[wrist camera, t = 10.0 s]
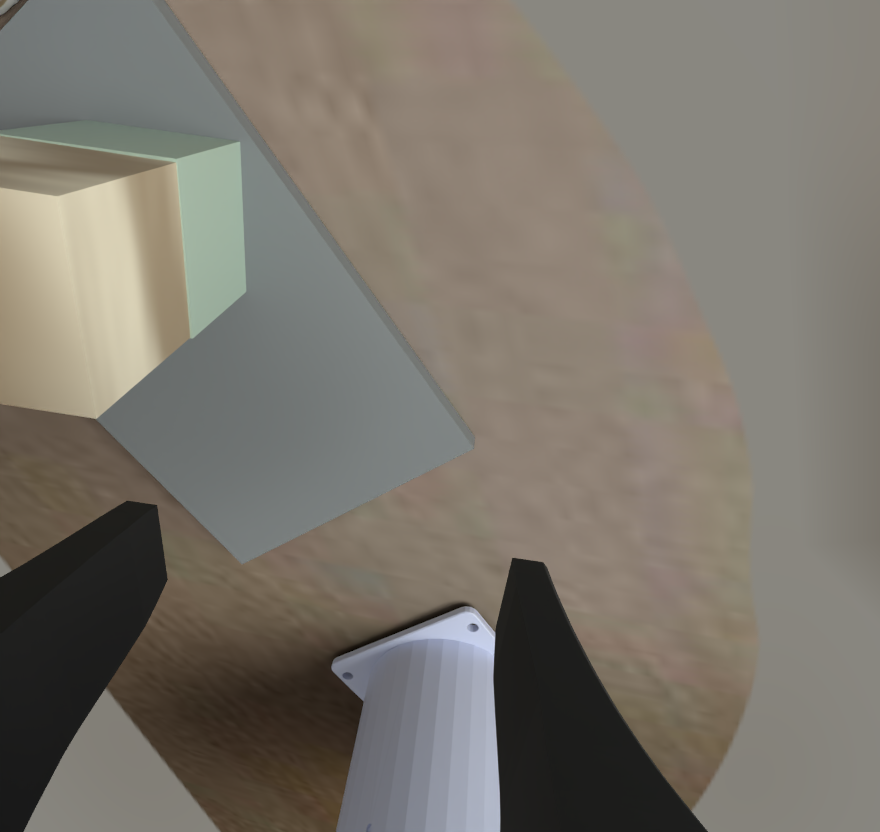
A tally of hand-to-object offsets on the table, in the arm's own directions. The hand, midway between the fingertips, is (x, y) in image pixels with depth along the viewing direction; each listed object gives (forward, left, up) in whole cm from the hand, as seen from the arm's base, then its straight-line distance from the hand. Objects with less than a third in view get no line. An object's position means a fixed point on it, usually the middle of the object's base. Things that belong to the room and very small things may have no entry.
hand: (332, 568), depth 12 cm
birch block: (+8, +3, -6) cm, 10 cm away
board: (+5, +5, -10) cm, 13 cm away
